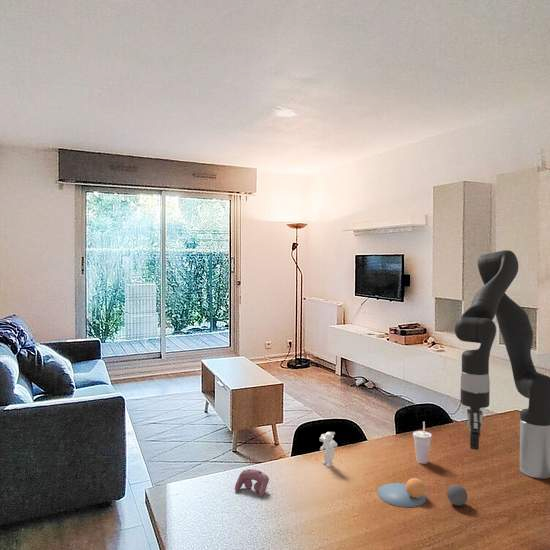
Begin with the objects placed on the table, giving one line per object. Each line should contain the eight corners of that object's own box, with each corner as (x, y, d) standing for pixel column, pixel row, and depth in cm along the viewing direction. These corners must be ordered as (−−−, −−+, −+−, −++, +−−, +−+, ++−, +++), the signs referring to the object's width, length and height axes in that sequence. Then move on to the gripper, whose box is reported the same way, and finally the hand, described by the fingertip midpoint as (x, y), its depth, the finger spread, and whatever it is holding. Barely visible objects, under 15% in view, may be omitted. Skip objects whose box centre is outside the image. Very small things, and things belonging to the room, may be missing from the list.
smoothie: (432, 466, 157) (433, 425, 157) (413, 464, 159) (413, 424, 158) (430, 458, 164) (430, 419, 163) (411, 456, 165) (411, 418, 165)
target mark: (411, 481, 146) (411, 481, 146) (435, 504, 133) (435, 503, 133) (370, 486, 143) (370, 485, 143) (390, 509, 130) (390, 509, 130)
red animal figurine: (267, 497, 140) (271, 473, 143) (261, 497, 136) (266, 472, 139) (239, 491, 144) (243, 467, 147) (232, 490, 140) (237, 466, 143)
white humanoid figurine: (339, 468, 156) (339, 433, 156) (329, 470, 154) (329, 435, 154) (326, 458, 164) (326, 424, 164) (316, 460, 163) (316, 426, 162)
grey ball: (458, 479, 136) (450, 495, 137) (448, 480, 132) (440, 496, 133) (474, 493, 132) (465, 509, 132) (464, 494, 128) (455, 510, 129)
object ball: (422, 476, 139) (407, 484, 141) (415, 473, 136) (399, 481, 137) (431, 494, 136) (415, 502, 137) (424, 492, 132) (407, 500, 134)
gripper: (460, 381, 137) (459, 438, 138) (461, 392, 125) (460, 455, 125) (487, 383, 135) (487, 441, 135) (491, 395, 122) (490, 460, 123)
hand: (474, 448), depth 130 cm, fingers closed
